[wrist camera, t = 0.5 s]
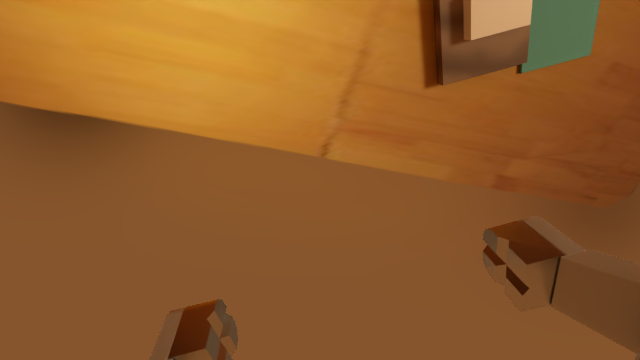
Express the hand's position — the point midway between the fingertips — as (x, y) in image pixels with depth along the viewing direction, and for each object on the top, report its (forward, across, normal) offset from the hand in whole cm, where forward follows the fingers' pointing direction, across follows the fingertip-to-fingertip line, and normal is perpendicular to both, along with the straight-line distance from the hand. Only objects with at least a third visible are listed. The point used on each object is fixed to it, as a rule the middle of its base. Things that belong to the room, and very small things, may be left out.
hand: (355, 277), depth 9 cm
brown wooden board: (+44, -30, -2) cm, 53 cm away
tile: (+42, -31, -2) cm, 52 cm away
